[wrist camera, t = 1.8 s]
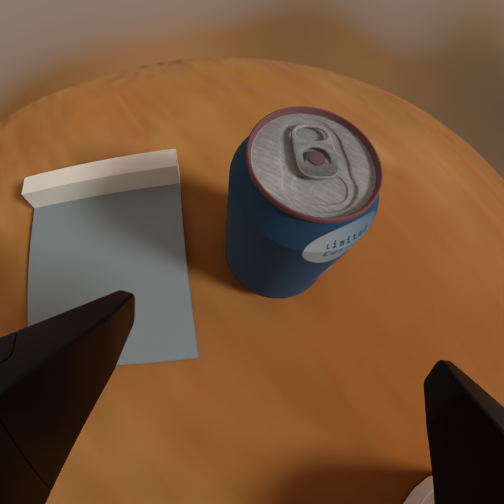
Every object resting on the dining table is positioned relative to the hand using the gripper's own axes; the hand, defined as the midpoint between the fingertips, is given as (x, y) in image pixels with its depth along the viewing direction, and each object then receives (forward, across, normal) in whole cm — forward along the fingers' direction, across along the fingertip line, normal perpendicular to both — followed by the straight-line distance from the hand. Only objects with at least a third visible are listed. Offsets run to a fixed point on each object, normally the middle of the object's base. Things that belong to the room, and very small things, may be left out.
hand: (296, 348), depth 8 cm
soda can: (+15, 0, +4) cm, 16 cm away
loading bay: (+12, +12, +8) cm, 18 cm away
